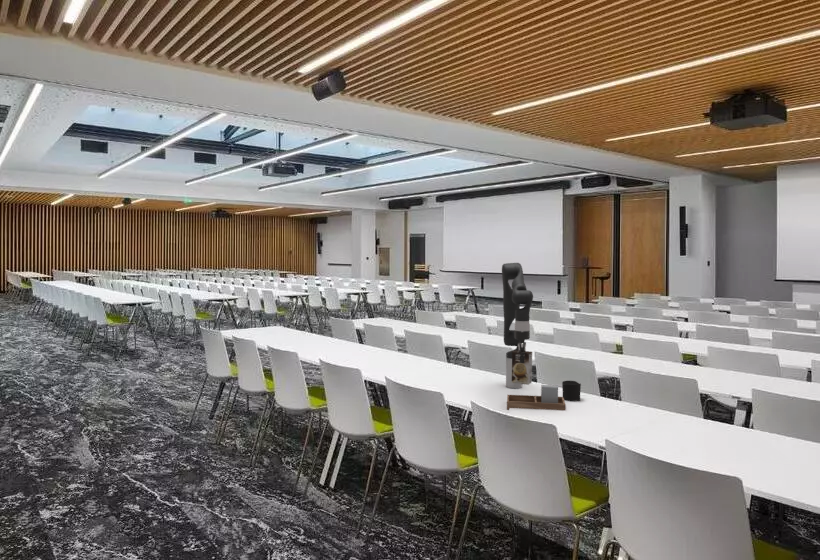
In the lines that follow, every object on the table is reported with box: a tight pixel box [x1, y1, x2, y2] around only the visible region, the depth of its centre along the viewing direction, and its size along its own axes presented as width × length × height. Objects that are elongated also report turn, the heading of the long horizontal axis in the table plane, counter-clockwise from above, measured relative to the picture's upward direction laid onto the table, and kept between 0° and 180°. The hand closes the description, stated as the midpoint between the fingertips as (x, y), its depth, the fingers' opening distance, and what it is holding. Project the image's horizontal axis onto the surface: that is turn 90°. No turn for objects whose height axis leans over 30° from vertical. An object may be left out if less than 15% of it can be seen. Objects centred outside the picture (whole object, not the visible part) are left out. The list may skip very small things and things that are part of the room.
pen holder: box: [561, 380, 582, 402], centre depth 307 cm, size 9×9×10 cm
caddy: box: [506, 394, 567, 411], centre depth 296 cm, size 15×28×4 cm, turn 80°
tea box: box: [540, 384, 559, 404], centre depth 295 cm, size 5×8×10 cm, turn 80°
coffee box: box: [512, 350, 533, 385], centre depth 297 cm, size 9×6×16 cm
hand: (521, 361), depth 296 cm, fingers closed on coffee box, 7 cm apart
